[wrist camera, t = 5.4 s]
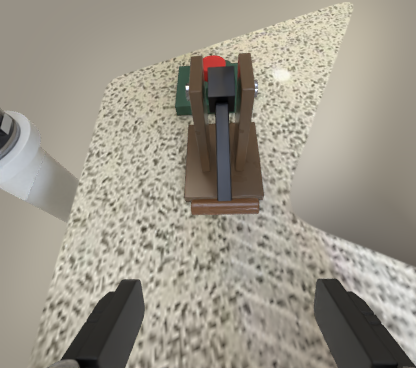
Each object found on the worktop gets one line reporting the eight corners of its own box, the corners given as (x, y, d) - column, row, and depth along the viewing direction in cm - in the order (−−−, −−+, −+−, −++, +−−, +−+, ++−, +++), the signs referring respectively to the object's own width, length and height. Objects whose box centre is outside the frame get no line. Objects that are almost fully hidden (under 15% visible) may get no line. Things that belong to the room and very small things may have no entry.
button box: (177, 115, 33) (172, 96, 30) (180, 75, 38) (176, 55, 35) (252, 112, 33) (254, 92, 30) (247, 72, 37) (249, 50, 34)
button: (200, 83, 32) (199, 72, 30) (200, 67, 33) (199, 56, 32) (226, 82, 32) (226, 71, 30) (225, 66, 33) (225, 54, 32)
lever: (256, 215, 18) (261, 212, 16) (193, 216, 18) (189, 213, 16) (248, 83, 21) (251, 64, 18) (194, 86, 21) (190, 68, 19)
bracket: (262, 200, 26) (291, 121, 15) (185, 201, 27) (156, 126, 15) (253, 127, 31) (270, 28, 20) (189, 130, 32) (170, 35, 21)
